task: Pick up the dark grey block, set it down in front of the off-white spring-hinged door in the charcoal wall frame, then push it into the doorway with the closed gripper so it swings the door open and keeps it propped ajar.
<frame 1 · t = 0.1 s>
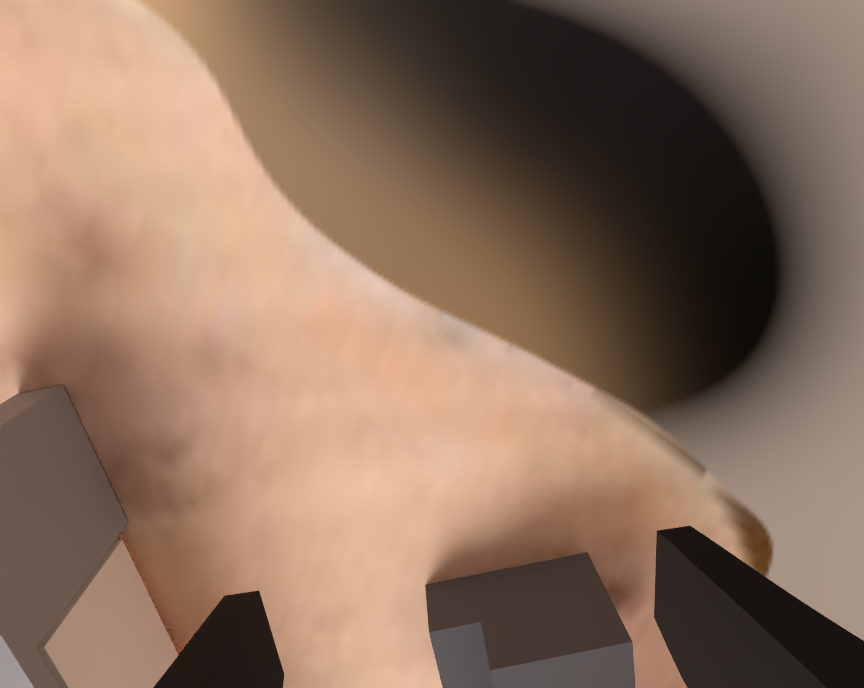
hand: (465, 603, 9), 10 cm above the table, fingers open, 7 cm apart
dark grey block: (512, 605, 23), on the table
wall frame: (181, 676, 22), on the table
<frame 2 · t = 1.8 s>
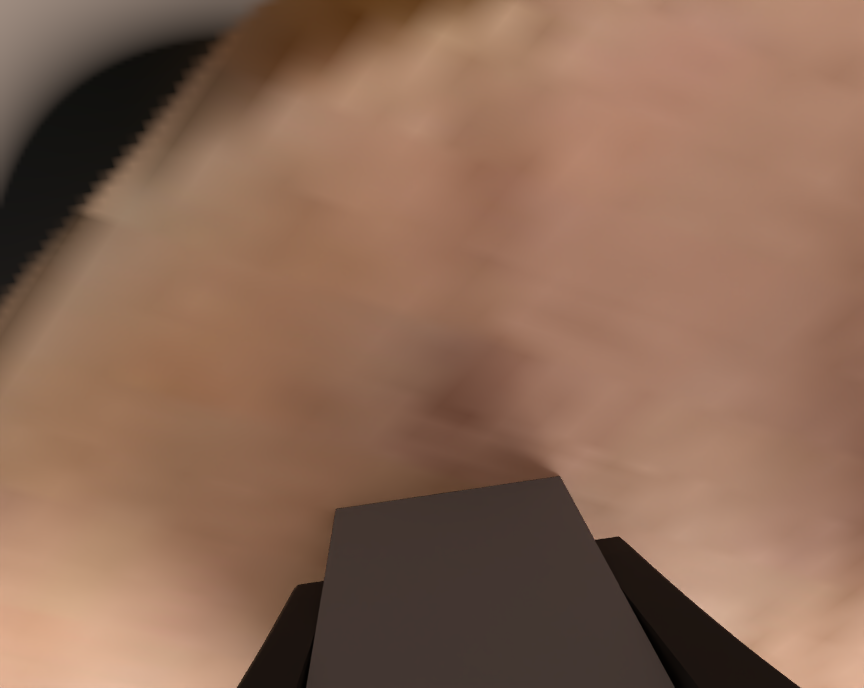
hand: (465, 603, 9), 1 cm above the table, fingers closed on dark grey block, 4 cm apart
dark grey block: (465, 624, 11), on the table, touching gripper
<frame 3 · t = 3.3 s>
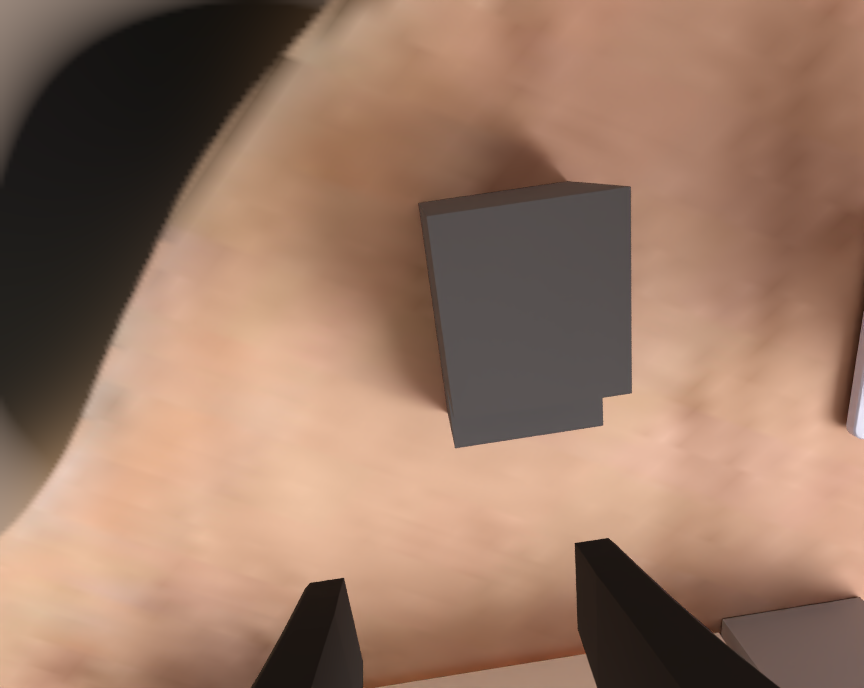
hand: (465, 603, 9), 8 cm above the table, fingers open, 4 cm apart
dark grey block: (502, 303, 17), on the table
wall frame: (532, 663, 22), on the table
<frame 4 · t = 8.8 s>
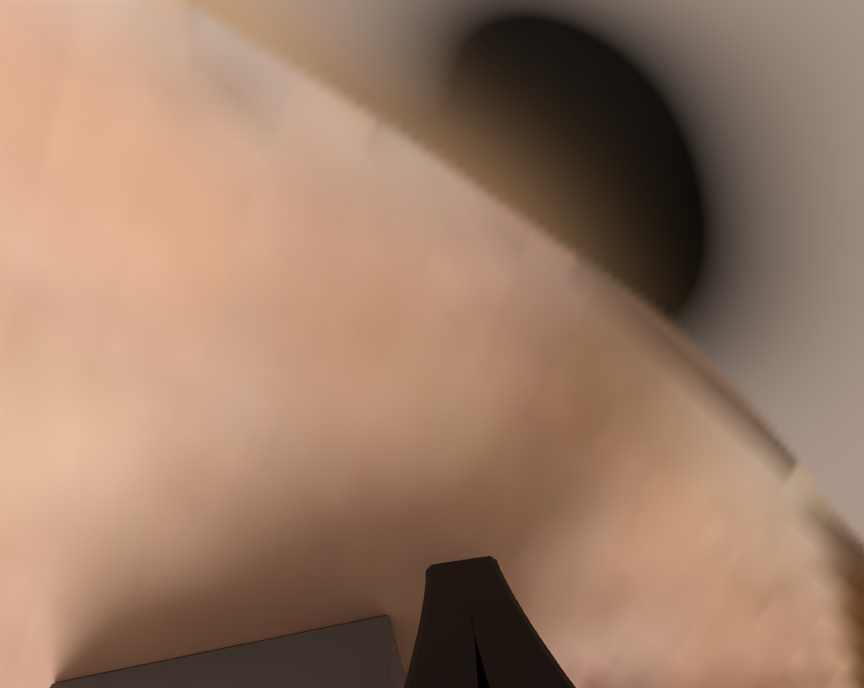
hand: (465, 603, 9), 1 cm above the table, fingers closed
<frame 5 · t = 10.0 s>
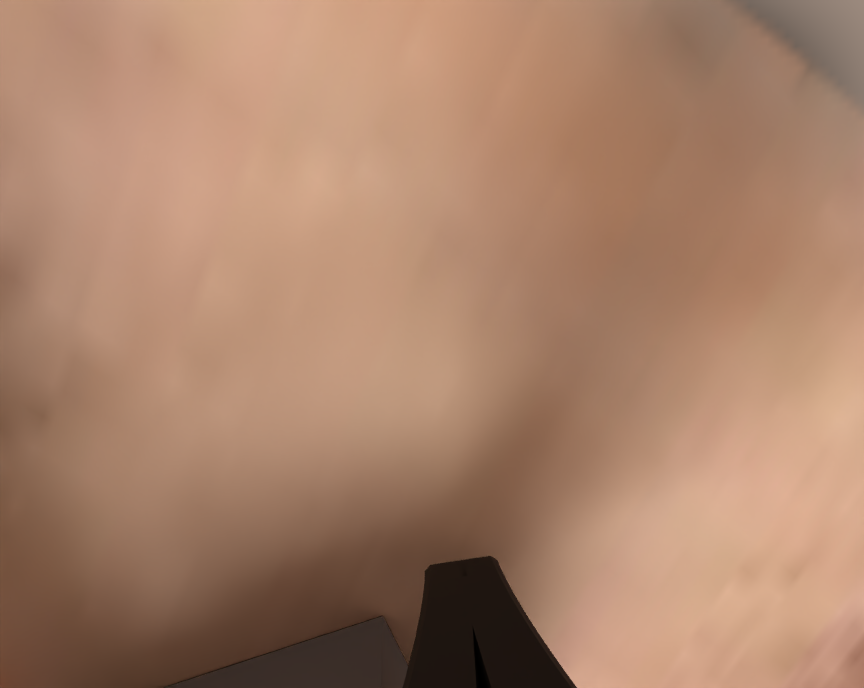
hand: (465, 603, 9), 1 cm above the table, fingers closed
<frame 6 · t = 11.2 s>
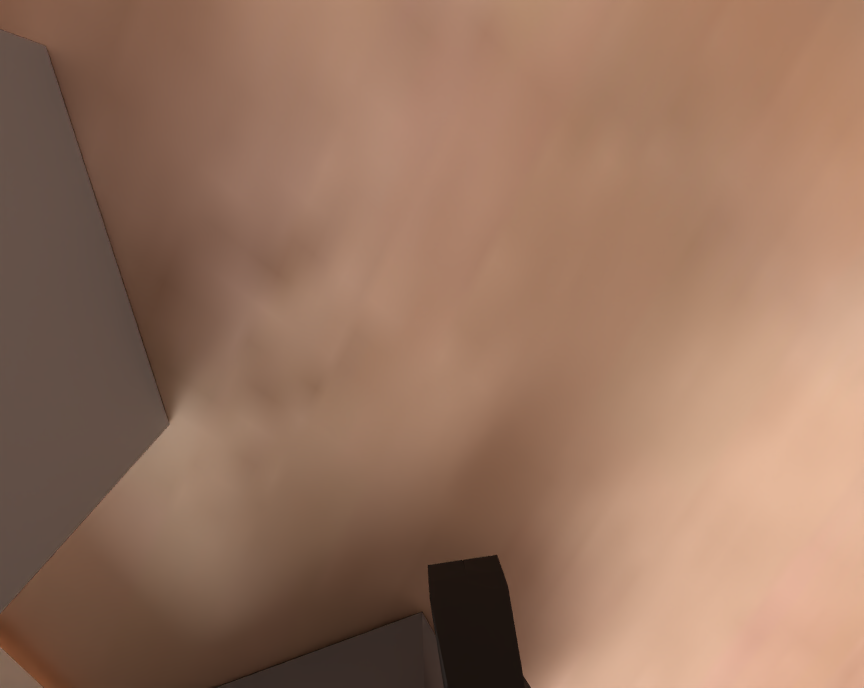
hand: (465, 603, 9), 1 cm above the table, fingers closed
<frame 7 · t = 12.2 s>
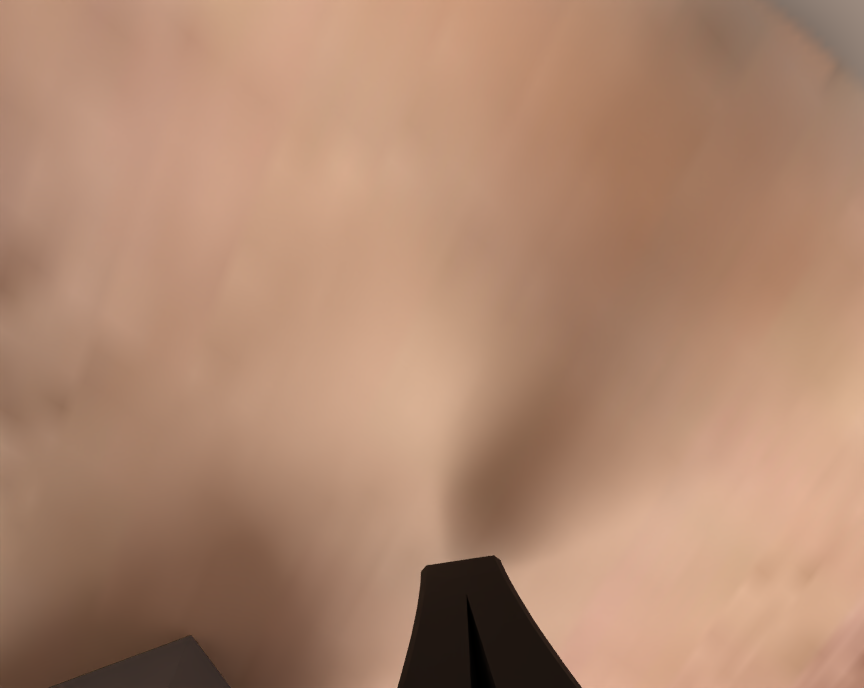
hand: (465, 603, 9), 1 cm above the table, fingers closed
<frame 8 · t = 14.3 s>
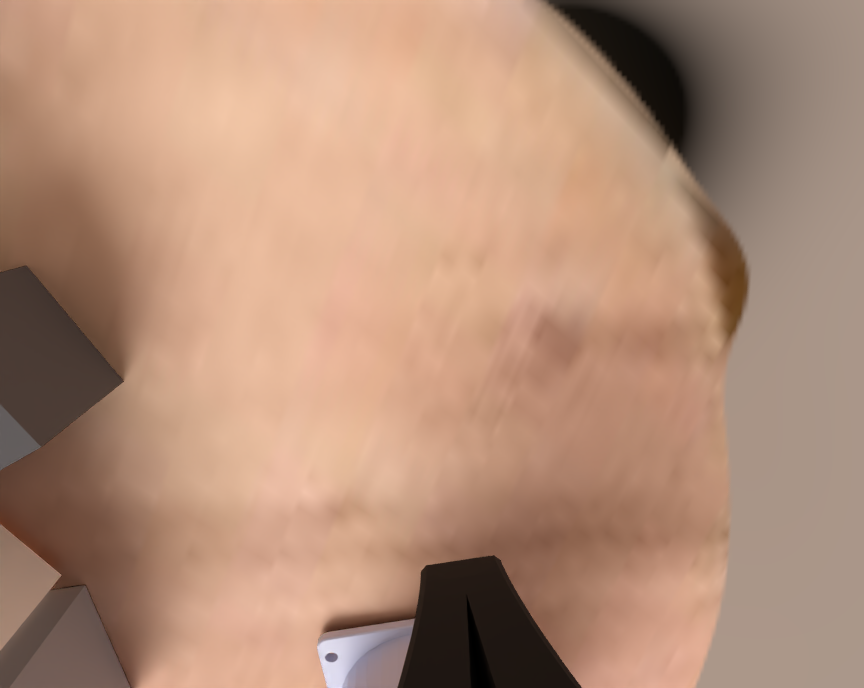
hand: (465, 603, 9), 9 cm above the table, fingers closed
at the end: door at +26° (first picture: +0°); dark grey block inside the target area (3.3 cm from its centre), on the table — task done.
